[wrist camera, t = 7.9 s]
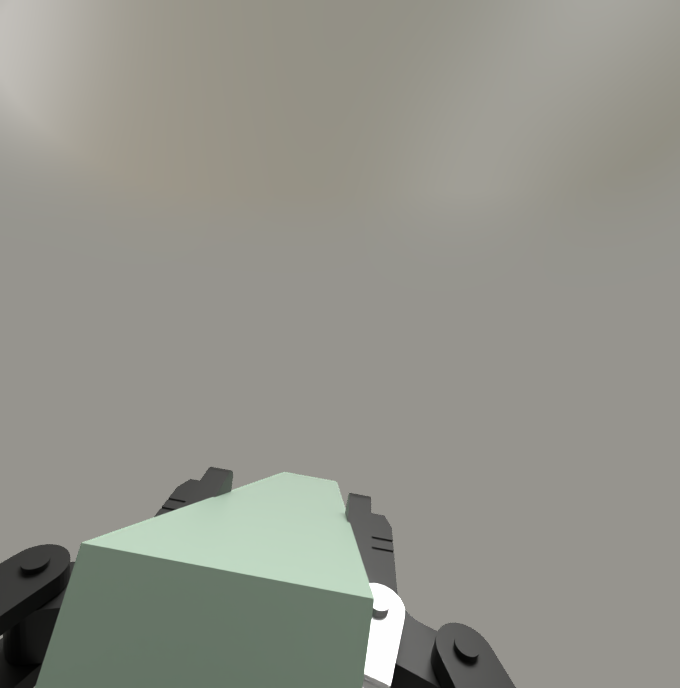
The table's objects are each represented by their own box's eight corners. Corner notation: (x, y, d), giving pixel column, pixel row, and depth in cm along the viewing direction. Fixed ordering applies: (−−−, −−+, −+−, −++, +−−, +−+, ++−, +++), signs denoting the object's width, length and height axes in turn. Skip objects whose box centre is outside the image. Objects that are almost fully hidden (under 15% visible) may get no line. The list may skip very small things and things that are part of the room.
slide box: (-10, 824, 5) (81, 542, 5) (275, 513, 30) (284, 471, 30) (334, 896, 5) (374, 599, 5) (329, 524, 30) (336, 481, 30)
